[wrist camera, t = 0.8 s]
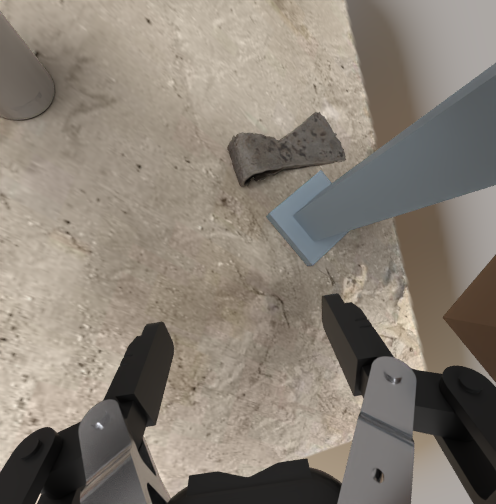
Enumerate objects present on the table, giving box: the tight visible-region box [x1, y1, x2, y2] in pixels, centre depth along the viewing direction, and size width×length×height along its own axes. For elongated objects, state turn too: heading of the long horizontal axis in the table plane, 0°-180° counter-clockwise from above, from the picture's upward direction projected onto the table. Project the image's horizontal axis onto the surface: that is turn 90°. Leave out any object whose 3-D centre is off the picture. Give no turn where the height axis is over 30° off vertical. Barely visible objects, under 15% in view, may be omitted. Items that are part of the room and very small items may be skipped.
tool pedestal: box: [266, 63, 496, 266], centre depth 22 cm, size 10×11×32 cm
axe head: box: [228, 112, 346, 187], centre depth 37 cm, size 20×5×10 cm
